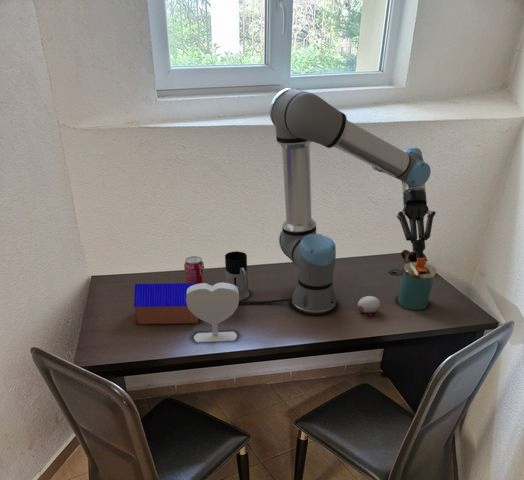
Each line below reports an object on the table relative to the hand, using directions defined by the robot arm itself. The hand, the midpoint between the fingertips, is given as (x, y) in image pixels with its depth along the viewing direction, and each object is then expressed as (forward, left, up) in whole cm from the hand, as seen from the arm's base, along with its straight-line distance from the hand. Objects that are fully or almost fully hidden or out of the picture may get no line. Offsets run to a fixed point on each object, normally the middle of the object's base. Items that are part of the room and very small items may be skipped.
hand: (419, 259), depth 154 cm
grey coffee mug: (-58, +17, -16) cm, 63 cm away
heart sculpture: (-71, -5, -16) cm, 73 cm away
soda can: (-72, +27, -16) cm, 79 cm away
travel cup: (0, -2, -16) cm, 16 cm away
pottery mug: (+14, +23, -16) cm, 31 cm away
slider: (-1, -3, -2) cm, 4 cm away
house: (-83, +12, -16) cm, 86 cm away
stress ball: (-18, -3, -16) cm, 24 cm away
